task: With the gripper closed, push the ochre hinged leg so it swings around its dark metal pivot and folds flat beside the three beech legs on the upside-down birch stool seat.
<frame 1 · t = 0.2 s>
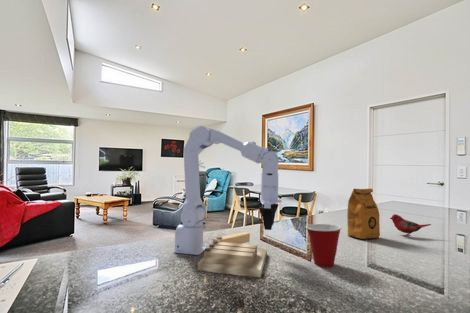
hand: (269, 227, 84), 10 cm above the counter, tool pointing down, fingers open, 7 cm apart
plastic cup: (323, 264, 78), on the counter
coffee package: (363, 237, 111), on the counter
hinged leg: (232, 239, 89), point 4 cm above the counter, hinge at 55.0°
decorative bird figurine: (410, 237, 114), on the counter
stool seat: (235, 261, 78), on the counter
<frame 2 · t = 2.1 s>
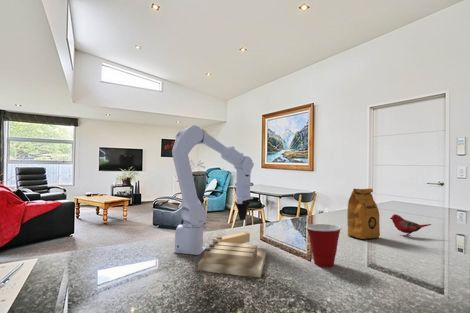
hand: (242, 219, 100), 9 cm above the counter, tool pointing down, fingers closed
nothing on the counter moved.
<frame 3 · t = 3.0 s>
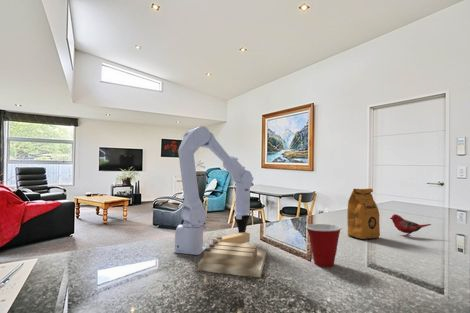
hand: (241, 234, 99), 3 cm above the counter, tool pointing down, fingers closed
nothing on the counter moved.
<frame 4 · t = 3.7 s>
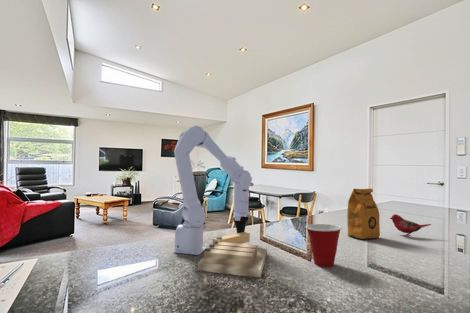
hand: (240, 236, 96), 3 cm above the counter, tool pointing down, fingers closed, pressing on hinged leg
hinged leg: (232, 239, 89), point 4 cm above the counter, hinge at 55.0°, touching gripper
everything else where it was.
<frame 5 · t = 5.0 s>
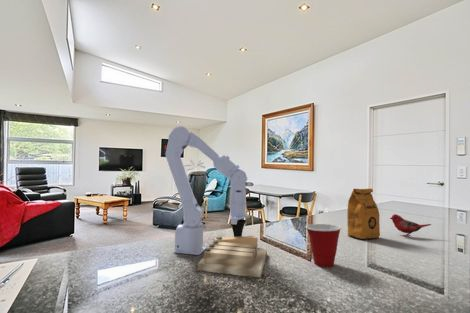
hand: (237, 240, 89), 4 cm above the counter, tool pointing down, fingers closed, pressing on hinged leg
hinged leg: (235, 241, 86), point 4 cm above the counter, hinge at 27.9°, touching gripper
everything else where it was.
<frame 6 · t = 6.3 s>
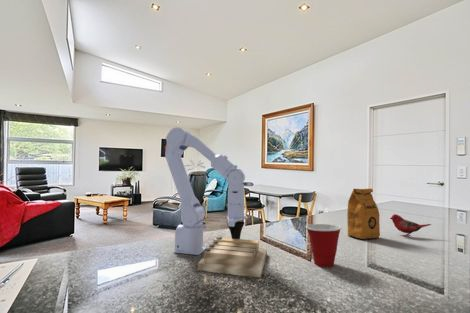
hand: (235, 243, 86), 4 cm above the counter, tool pointing down, fingers closed, pressing on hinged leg
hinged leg: (236, 243, 84), point 4 cm above the counter, hinge at 1.0°, touching gripper
everything else where it was.
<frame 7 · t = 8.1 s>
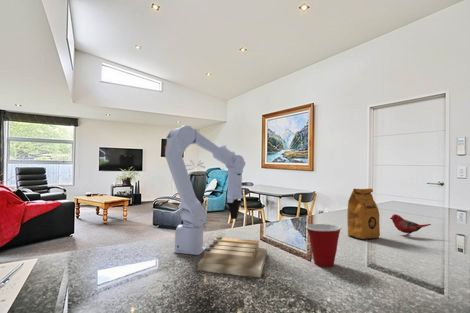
hand: (234, 218, 99), 9 cm above the counter, tool pointing down, fingers closed
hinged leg: (236, 244, 84), point 4 cm above the counter, hinge at 0.5°
everything else where it was.
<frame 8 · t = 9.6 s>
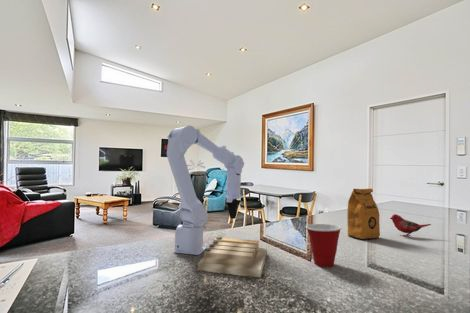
hand: (232, 218, 101), 9 cm above the counter, tool pointing down, fingers closed
nothing on the counter moved.
at the end: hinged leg at +0° (first picture: +55°); the gripper is holding nothing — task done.
